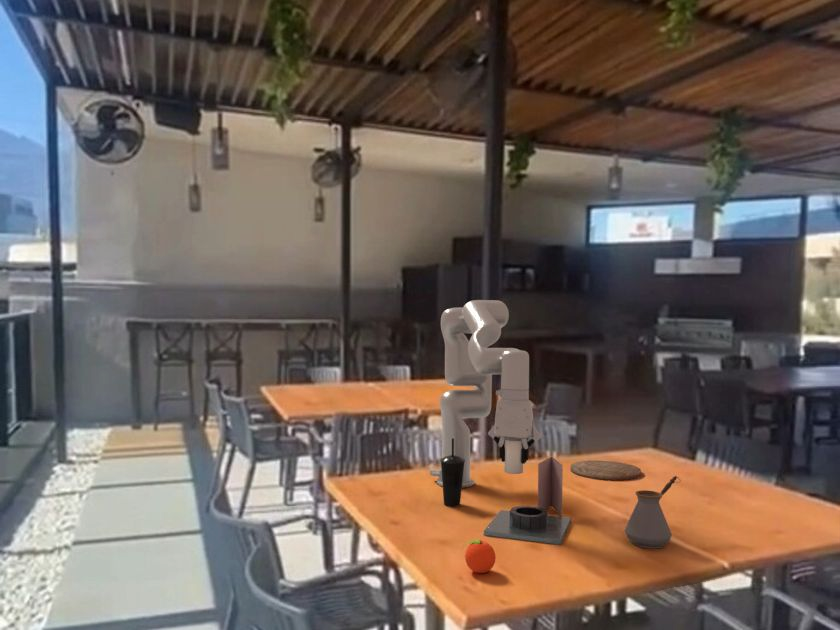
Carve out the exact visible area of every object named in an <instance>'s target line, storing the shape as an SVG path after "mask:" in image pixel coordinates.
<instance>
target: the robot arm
mask: <svg viewBox="0 0 840 630" xmlns="http://www.w3.org/2000/svg"><path fill="white" fill-rule="evenodd" d="M509 316H510V315H509V308H508V307H507V305H506V304H505V303H504V302H503V301H501V300H497V299H496V300H494V299H491V300H490V299H489V300H488V299H487V300H486V299H476V300H473V299H472V300H470V301H468V302H467V303H465V304H464V305H463V307H451V308H447V309H445V310H444V311H443V312H442V314H441V317H440V330H441V334H442V338H443V341H444V377H445V382H446V383H447V384H448V385H449V386H452V387H475V389H452V390H447V391H445V392H443V394H441V395H440V398H439V407H440V414H441V429H442V431H441V435H442V436H441V438H442V440H441V458H443V457H445V456H449V455H452V438H453V439H454V455H456V456H459V457H461V458H463V459H465V463H464V470H463V480H462V489H464V488H465V487H466V488H471V487H472V485H473V486H474V485H475V479H473V478H471V431H470V428H469V427H468V425H467V424H466V422H465V421H464V419H478V418H480V419H481V418H486V417H488V416H489V415H490V413H491V410H492V392H493V391H492V390H493V389H492V387H493V386H492V385H493V384H492V383H493V382H492V381H493V375H500V377H501V378H500V382H501V383H500V389H497V390H495V395H496V396H498V397H500V399H498V400H497V403H496V408H495V409H496V410H495V418H494V420H495V421H494V424H493V426H492V427H491V428H490V430H489V431H488V432H487V435H488V436H489V437H490V438H491V439H493V441H495V443H496V444H497V446H498V447H499V458H500V459H501V460H500V461H501V462H502V463H505V437H514V438H521V439H522V443H523V449H522V464H523V465H525V464H526V463H527V461H529V455H530V454H529V450H530V447H531V446H532V445H533V444H534V443H536V442H537V441H538V440H540V439H541V438H542V435H541V433H540V432H539V431H538V429H537V428H536V426H535V425H534V424H535V423H534V414H533V413H534V412H533V405H532V401H531V400H530V397H529V393H530V354H529V353H528V352H527V351H526V350H521V349H518V348H514V347H490V346H492V345H493V344H495V343H496V342H498V340H499V339H500V337H501V335H502V328H503V327H506V325H507V324H508V321H509V318H510V317H509ZM466 334H471V336H470V338H469V339H468V338H467V335H466ZM532 436H533V437H532ZM531 437H532V438H531ZM529 438H531V439H530V440H529ZM429 472H430V475H431V476H432V477H438V478H437V479H436V484H437V485H438V486H441V487H443V484H442V470H441V468H439V469H435V468H430V471H429Z"/></svg>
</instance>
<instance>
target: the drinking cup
mask: <svg viewBox="0 0 840 630" xmlns="http://www.w3.org/2000/svg"><path fill="white" fill-rule="evenodd" d="M439 462H440V469H441V470H442V484H443V486H442V492H443V493H442V496H443V505H444V506H446V507H450V508H451V507H453V508H454V507H456V508H457V507H460V505H461V497H462V489H463V488H462V480H463V470H464V463H465V459H463V458H461V457H459V456H456V455H454V439H453V438H452V455H449V456H445V457H443V458H442V457H441V458H440V459H439Z"/></svg>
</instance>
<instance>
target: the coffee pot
mask: <svg viewBox="0 0 840 630" xmlns="http://www.w3.org/2000/svg"><path fill="white" fill-rule="evenodd" d="M677 479H678V480H679V481H676V480H677ZM680 482H682V481H681V478H679V477H678V476H677V475H674V476H672V477H671V479H669V482H667V483H666V484H665V486H664V487H663V489H662V490H661V491H660V492H658V491H654V490H636V491H635V496H636V497H637V502H636V504H635V507H634V509H633V511H632V513H631V515H630V517H629V520H628V521H627V524H626V526H625V528H624V532H625V535H626V537H627V538H628V539H629V541H631V542H632V544H633V545H635V546H637V547H640V548H646V549H659V548H662V547H664V546H665V545H666V544H667V543H669V542H670V540H671V538H672V535H673V534H672V532H671V529H670V527H669V525H668V522H667V519H666V517H665V514H664V511H663V509H662V507H661V503H660V500H661V498H662V497H663V496H664V495H665V494H666V493H667V492H668V491H669V489H671V487H672V485H673V484H675V483H677V484H679V483H680Z"/></svg>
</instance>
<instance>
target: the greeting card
mask: <svg viewBox="0 0 840 630" xmlns="http://www.w3.org/2000/svg"><path fill="white" fill-rule="evenodd" d="M537 465H538V467H537V468H538V469H537V473H538V474H537V475H538V476H537V507H539V508H543V509H545V510H546V511H547V509H549V508H550V507H551V508H552V507H553V508H554V509H555V510H554V509H553V508H552V509H553V510H554V511H555V512H556V513H557V514H558V516H559V517H563V478H564V477H563V475H564V474H563V471H564V468H563V464H562V463H561V462H560V461H558V460H557V459H556V458H554V456H550V457H548V458H546V459H544V460H543V461H541V462H538V464H537Z"/></svg>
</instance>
